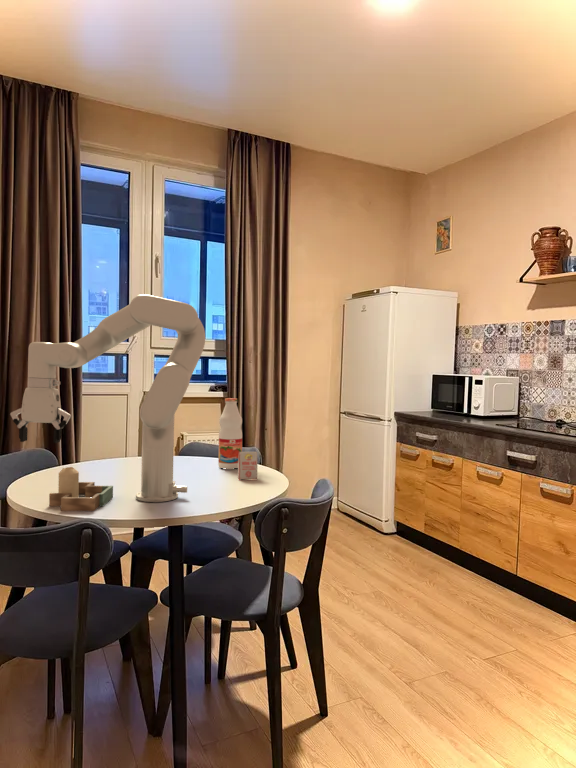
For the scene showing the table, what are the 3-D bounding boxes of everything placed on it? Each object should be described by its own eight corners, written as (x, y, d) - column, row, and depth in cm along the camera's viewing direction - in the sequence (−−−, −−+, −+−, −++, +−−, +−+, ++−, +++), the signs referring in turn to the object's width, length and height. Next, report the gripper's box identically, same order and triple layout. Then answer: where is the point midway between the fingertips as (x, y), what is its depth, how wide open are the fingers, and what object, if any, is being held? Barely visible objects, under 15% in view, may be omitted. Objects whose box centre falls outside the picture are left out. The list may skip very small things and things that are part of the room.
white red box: (237, 478, 199) (238, 451, 198) (256, 477, 200) (256, 450, 200) (238, 480, 195) (239, 452, 195) (257, 480, 196) (257, 452, 196)
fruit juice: (240, 465, 224) (241, 397, 223) (242, 469, 215) (244, 399, 214) (217, 465, 223) (218, 397, 222) (218, 470, 213) (220, 399, 213)
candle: (76, 503, 158) (76, 469, 158) (56, 503, 157) (56, 469, 157) (80, 498, 163) (80, 466, 163) (61, 499, 163) (61, 466, 162)
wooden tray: (117, 493, 171) (117, 482, 171) (97, 510, 150) (97, 498, 150) (65, 493, 170) (65, 481, 170) (38, 510, 150) (38, 498, 149)
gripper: (76, 384, 164) (74, 441, 164) (18, 382, 163) (16, 439, 164) (66, 385, 156) (64, 444, 157) (5, 383, 156) (4, 442, 156)
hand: (40, 441), depth 160 cm, fingers open, 9 cm apart
